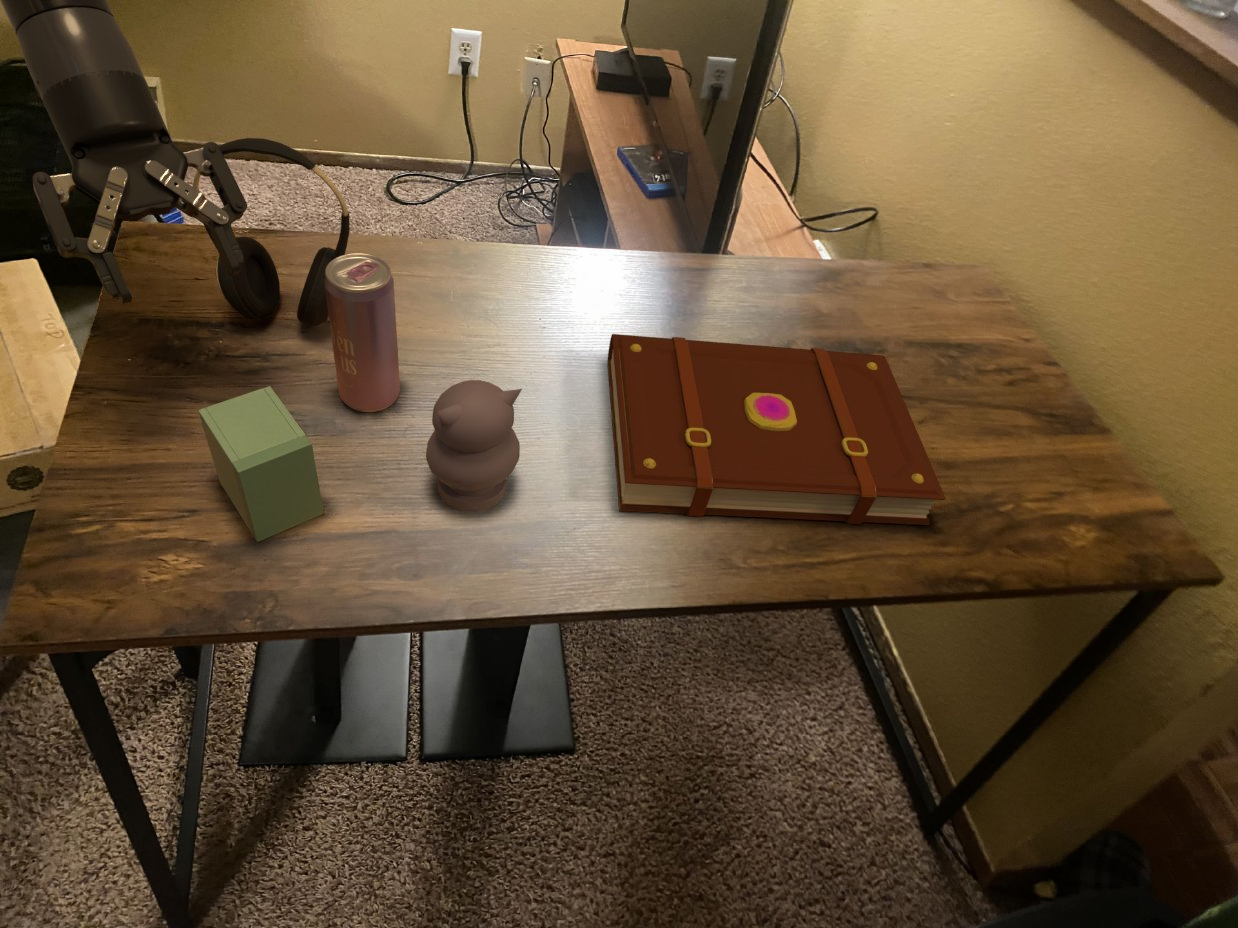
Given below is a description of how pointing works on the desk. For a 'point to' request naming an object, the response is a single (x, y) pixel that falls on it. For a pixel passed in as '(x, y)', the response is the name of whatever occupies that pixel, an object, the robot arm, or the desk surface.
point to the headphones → (258, 276)
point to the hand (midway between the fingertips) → (183, 286)
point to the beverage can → (363, 330)
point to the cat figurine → (473, 444)
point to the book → (764, 433)
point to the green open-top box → (263, 462)
